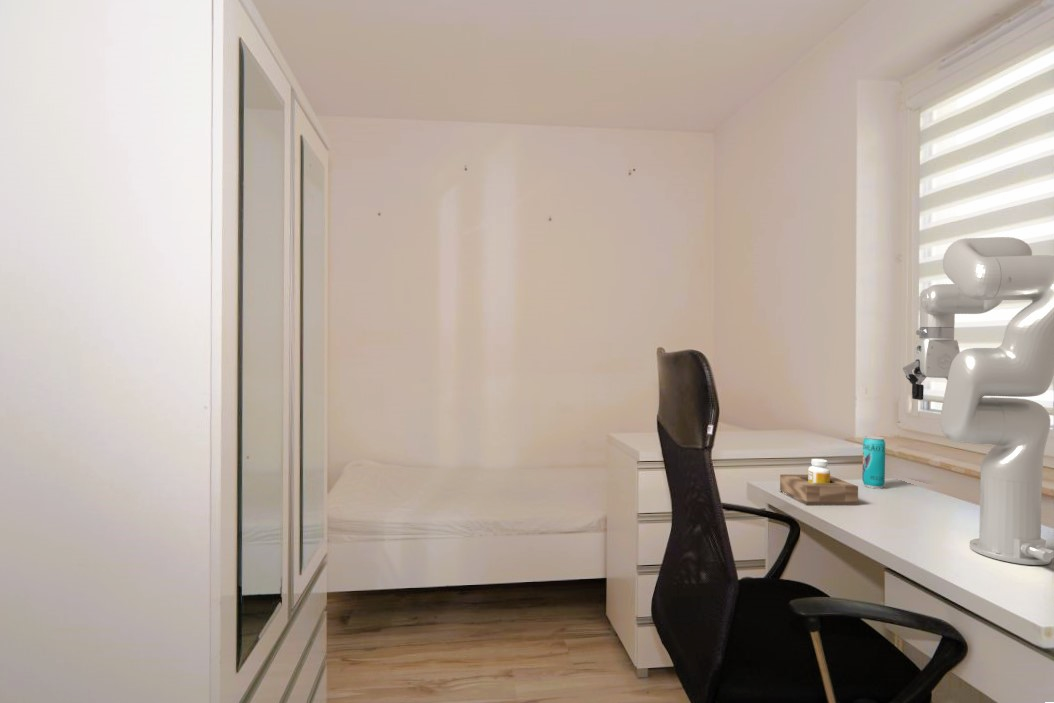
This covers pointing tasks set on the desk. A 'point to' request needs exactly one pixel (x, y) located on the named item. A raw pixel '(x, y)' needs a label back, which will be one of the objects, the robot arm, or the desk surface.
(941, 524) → the desk surface
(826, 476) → the supplement bottle
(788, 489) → the socket block
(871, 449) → the beverage can
